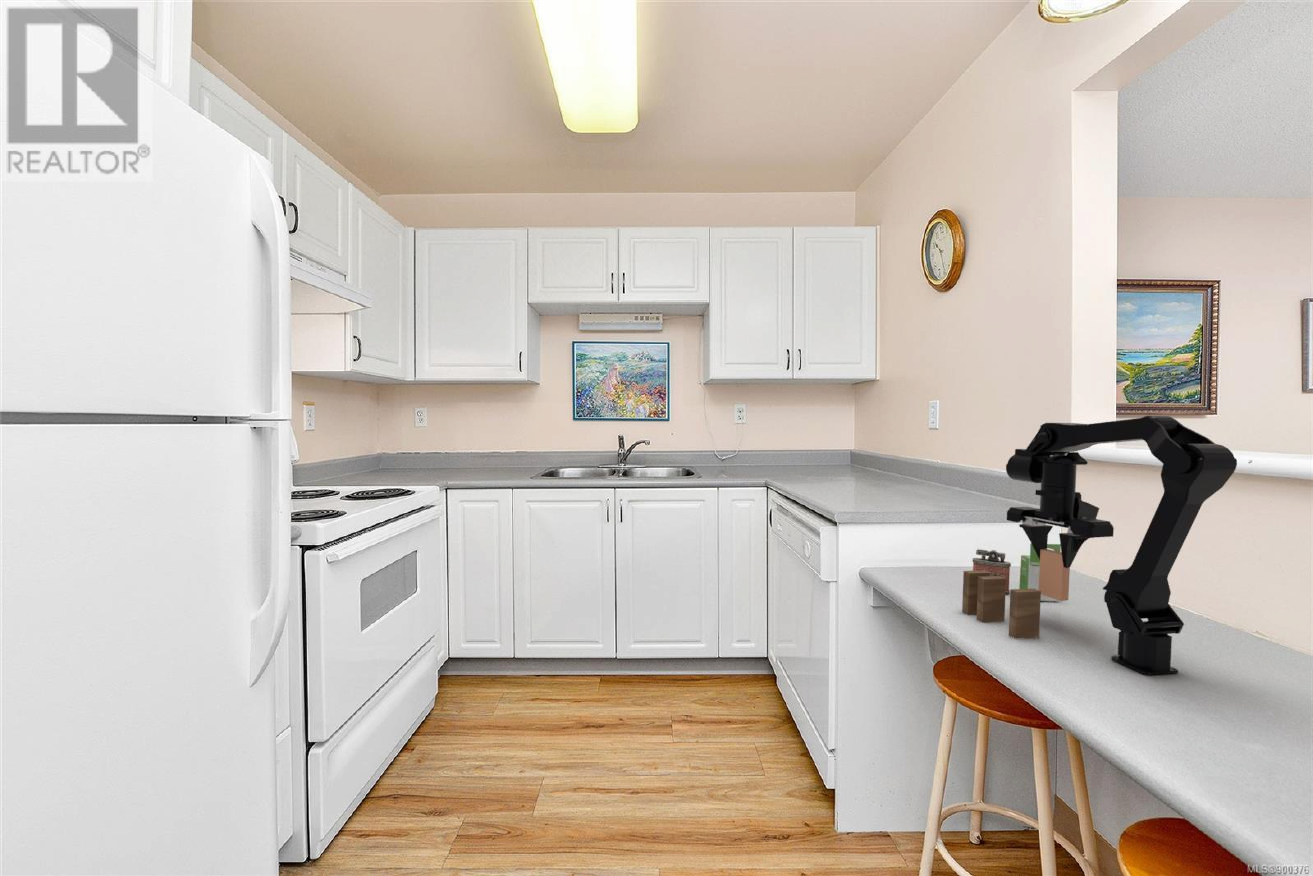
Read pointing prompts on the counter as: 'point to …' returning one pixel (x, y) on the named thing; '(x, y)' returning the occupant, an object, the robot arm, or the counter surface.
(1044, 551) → the domino
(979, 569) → the lighter
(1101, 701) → the counter surface
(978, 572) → the domino
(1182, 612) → the counter surface
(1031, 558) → the ink box
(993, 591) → the domino
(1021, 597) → the domino
